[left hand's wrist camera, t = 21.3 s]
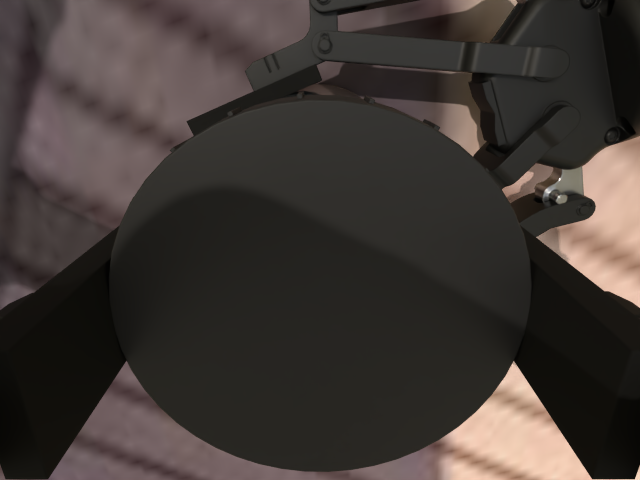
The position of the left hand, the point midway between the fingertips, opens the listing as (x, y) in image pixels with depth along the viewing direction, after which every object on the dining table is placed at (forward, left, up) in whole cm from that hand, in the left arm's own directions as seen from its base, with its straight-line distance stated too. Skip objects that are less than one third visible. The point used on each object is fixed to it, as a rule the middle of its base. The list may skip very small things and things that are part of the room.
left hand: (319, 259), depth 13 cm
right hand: (-4, -2, -10) cm, 11 cm away
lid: (0, 0, +3) cm, 3 cm away
